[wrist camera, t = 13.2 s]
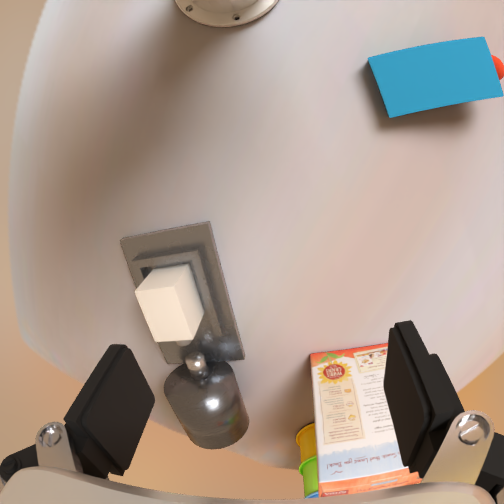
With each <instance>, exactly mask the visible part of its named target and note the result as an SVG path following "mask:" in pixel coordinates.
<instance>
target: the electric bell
mask: <svg viewBox="0 0 504 504" xmlns="http://www.w3.org/2000/svg"><path fill="white" fill-rule="evenodd" d="M120 242H121V245H122V248H123V251H124V254H125V257H126V260H127V263H128V266H129V269H130V272H131V274H132V277H133V280H134V283H135V285H136V288H138V287H139V285H140V284H141V283H142V282H143V281H144V279H145V278H146V277H147V276H148V275H149V274H150V272H151V271H152V270H153V269H157V268H163V267H169V266H175V265H181V264H188V263H189V264H190V268H191V271H192V274H193V277H194V280H195V284H196V287H197V290H198V293H199V296H200V299H201V303H202V306H203V309H204V314H203V317H202V319H201V322H200V324H199V327H198V329H197V331H196V334H195V336H194V339H193V340H192V342H191V343H190V344H188V345H186V346H178V345H177V342H176V341H164V342H158V343H159V346H160V348H161V350H162V352H163V355H164V357H165V359H166V361H167V364H169V363H184V364H182V365H181V366H179V367H178V368H176V369H175V370H174V371H173V372H172V373H171V374H170V375H169V376H168V378H167V379H166V381H165V384H164V393H165V395H166V397H167V399H168V401H169V403H170V405H171V407H172V409H173V410H174V412H175V414H176V416H177V418H178V419H179V421H180V423H181V425H182V426H183V428H184V430H185V432H186V433H187V435H188V437H189V438H190V440H191V441H192V442H193V443H194V444H196V445H197V446H199V447H202V448H206V449H221V448H225V447H227V446H230V445H232V444H234V443H235V442H237V441H238V440H239V439H241V438H242V437H243V435H244V434H245V433H246V431H247V429H248V426H249V417H248V414H247V411H246V408H245V405H244V402H243V399H242V396H241V393H240V390H239V387H238V384H237V381H236V378H235V375H234V372H233V369H232V368H231V366H230V365H229V364H228V363H226V362H225V361H231V360H244V359H245V353H244V349H243V346H242V342H241V338H240V335H239V331H238V328H237V324H236V320H235V317H234V313H233V309H232V306H231V302H230V298H229V294H228V291H227V287H226V283H225V279H224V275H223V271H222V268H221V264H220V260H219V256H218V252H217V248H216V244H215V240H214V236H213V232H212V228H211V224H210V221H208V222H202V223H197V224H191V225H186V226H181V227H176V228H170V229H165V230H160V231H155V232H150V233H145V234H140V235H135V236H130V237H126V238H123V239H121V240H120Z"/></svg>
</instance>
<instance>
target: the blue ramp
mask: <svg viewBox="0 0 504 504" xmlns="http://www.w3.org/2000/svg"><path fill="white" fill-rule="evenodd" d="M368 62H369V64H370V67H371V69H372V72H373V74H374V77H375V80H376V82H377V85H378V88H379V90H380V93H381V96H382V99H383V102H384V105H385V108H386V111H387V114H388V117H390V118H392V117H396V116H400V115H405V114H409V113H414V112H418V111H423V110H428V109H433V108H437V107H443V106H448V105H453V104H458V103H464V102H470V101H476V100H482V99H488V98H495V97H502V96H504V95H503V91H502V88H501V84H500V81H499V80H500V79H502V78H503V77H504V65H503V63H502V62H501V60H500V59H499V58H497V57H496V56H493V55H491V54H490V51H489V48H488V46H487V43H486V41H485V38H484V37H476V38H467V39H459V40H452V41H446V42H439V43H433V44H428V45H422V46H417V47H412V48H407V49H403V50H398V51H394V52H389V53H385V54H381V55H377V56H373V57H369V58H368Z"/></svg>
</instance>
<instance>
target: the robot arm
mask: <svg viewBox="0 0 504 504" xmlns="http://www.w3.org/2000/svg"><path fill="white" fill-rule="evenodd" d="M175 2H176V3H177V5H178V6H179V8H180V9H181V10H182V11H183V12H184V14H186V15H187V16H188V17H190V18H191V19H192V20H194V21H196V22H199V23H201V24H205V25H208V26H215V27H232V26H237V25H242V24H245V23H248V22H251V21H253V20H255V19H257V18H259V17H261V16H263V15H264V14H265V13H267V12H268V11H270V10H271V9H272V7H273V6H274V5H275V4H276V3H277V2H278V0H175ZM191 9H193V10H192V11H190V10H191ZM236 18H239V20H235V19H236ZM383 387H384V393H385V396H386V400H387V403H388V407H389V411H390V415H391V419H392V422H393V426H394V430H395V434H396V438H397V443H398V447H399V451H400V455H401V460H402V464H403V466H404V467H407V466H408V468H409V472H410V473H414V472H418V475H419V477H420V478H422V481H421V482H420V483H419V484H411V485H405V486H399V487H393V488H387V489H381V490H375V491H369V492H362V493H355V494H347V495H338V496H329V497H318V498H305V499H283V500H248V499H224V498H211V497H200V496H191V495H183V494H176V493H169V492H162V491H157V490H151V489H145V488H140V487H135V486H130V485H126V484H122V483H117V482H113V481H109V478H108V473H109V472H110V473H111V474H115V475H120V476H123V474H124V472H125V470H127V469H128V468H129V466H130V464H131V461H132V458H133V456H134V453H135V451H136V448H137V445H138V443H139V440H140V438H141V436H142V433H143V430H144V428H145V425H146V423H147V420H148V418H149V416H150V413H151V411H152V408H153V406H154V403H155V398H154V394H153V393H152V391H151V389H150V387H149V385H148V383H147V381H146V379H145V377H144V375H143V373H142V371H141V369H140V367H139V365H138V363H137V361H136V359H135V357H134V355H133V353H132V351H131V349H129V348H128V347H127V346H126V345H124V344H112V345H110V346H109V348H108V349H107V351H106V352H105V354H104V355H103V357H102V358H101V360H100V361H99V363H98V364H97V366H96V367H95V369H94V370H93V372H92V374H91V375H90V377H89V378H88V380H87V381H86V383H85V385H84V386H83V388H82V389H81V391H80V393H79V394H78V396H77V397H76V399H75V401H74V402H73V404H72V406H71V407H70V409H69V411H68V412H67V414H66V416H65V417H64V421H65V422H66V424H65V425H63V424H62V423H59V422H51V423H48V424H46V425H44V426H43V427H42V428H41V429H40V430H39V431H38V433H37V435H36V444H34V445H32V446H30V447H28V448H25V449H23V450H21V451H18V452H16V453H14V454H11V455H9V456H8V457H6V458H5V459H4V460H3V461H2V463H1V465H0V504H504V436H503V435H501V434H498V433H495V432H494V430H495V429H494V424H493V422H492V420H491V418H490V417H489V416H487V415H486V414H485V413H483V412H480V411H475V410H471V411H466V412H465V411H464V409H463V406H462V404H461V402H460V400H459V398H458V395H457V393H456V391H455V389H454V387H453V385H452V383H451V381H450V378H449V376H448V374H447V372H446V370H445V368H444V366H443V364H442V362H441V360H440V358H439V357H438V355H437V354H430V355H429V353H428V351H427V349H426V347H425V345H424V343H423V341H422V339H421V337H420V335H419V333H418V331H417V329H416V327H415V326H414V324H413V322H412V321H411V320H410V321H404V322H398V323H395V325H394V328H390V330H389V340H388V350H387V358H386V366H385V374H384V381H383Z"/></svg>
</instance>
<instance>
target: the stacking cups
mask: <svg viewBox="0 0 504 504" xmlns="http://www.w3.org/2000/svg"><path fill="white" fill-rule="evenodd" d="M296 443H297V444H298V446H299V447H300V451H301V464H300V466H299V472H300V474H301V475H303V480H304V493H305V498H318V497H319V494H318V473H317V454H316V436H315V423H312V424H310V425H307V426H306V427H304V428H303V429H301V430H300V431H299V432H298V434H297V436H296ZM305 498H304V499H305Z"/></svg>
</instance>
